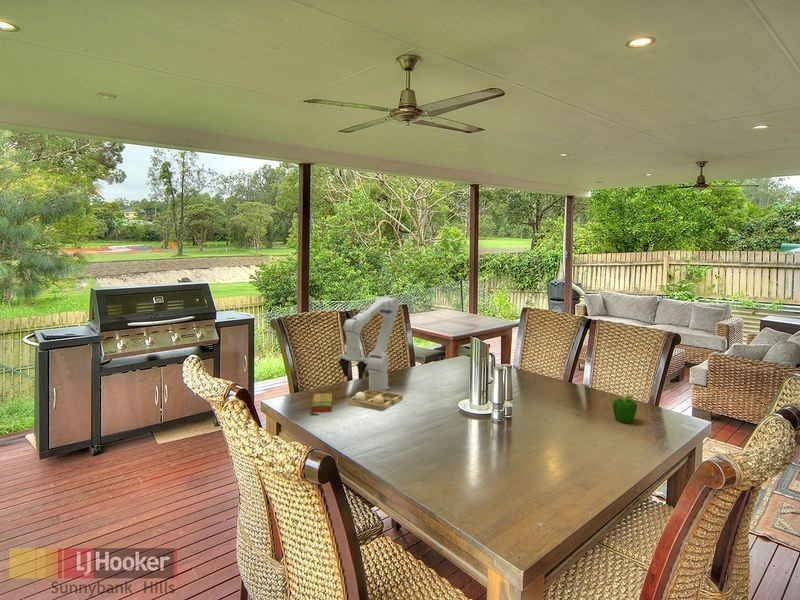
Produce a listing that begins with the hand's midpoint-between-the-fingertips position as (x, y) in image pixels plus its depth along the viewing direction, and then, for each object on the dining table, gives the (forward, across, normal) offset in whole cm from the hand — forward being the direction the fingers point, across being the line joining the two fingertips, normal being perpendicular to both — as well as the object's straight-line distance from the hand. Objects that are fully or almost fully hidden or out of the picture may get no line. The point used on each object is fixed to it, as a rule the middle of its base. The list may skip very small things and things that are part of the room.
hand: (353, 377), depth 212 cm
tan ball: (+9, +16, -5) cm, 19 cm away
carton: (+10, -5, -16) cm, 20 cm away
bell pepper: (+10, +106, +30) cm, 111 cm away
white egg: (+8, +8, -5) cm, 13 cm away
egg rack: (+10, +12, -1) cm, 16 cm away
